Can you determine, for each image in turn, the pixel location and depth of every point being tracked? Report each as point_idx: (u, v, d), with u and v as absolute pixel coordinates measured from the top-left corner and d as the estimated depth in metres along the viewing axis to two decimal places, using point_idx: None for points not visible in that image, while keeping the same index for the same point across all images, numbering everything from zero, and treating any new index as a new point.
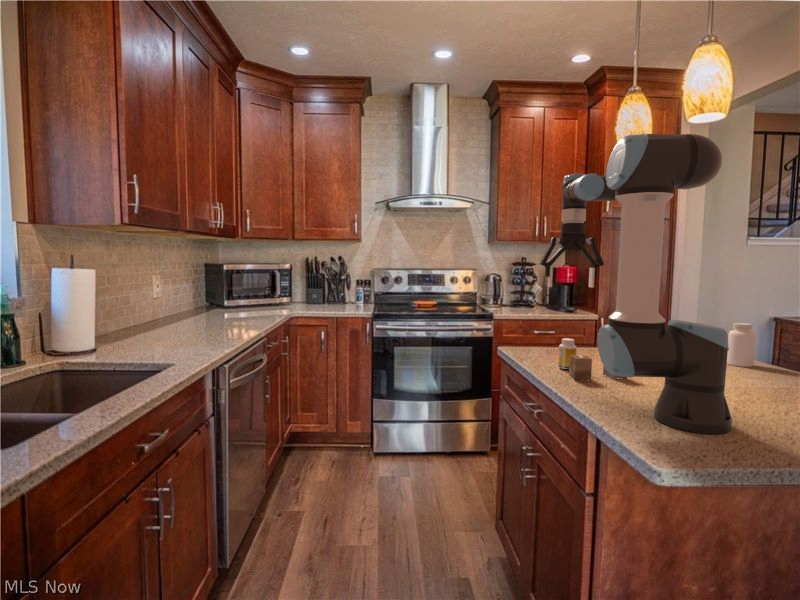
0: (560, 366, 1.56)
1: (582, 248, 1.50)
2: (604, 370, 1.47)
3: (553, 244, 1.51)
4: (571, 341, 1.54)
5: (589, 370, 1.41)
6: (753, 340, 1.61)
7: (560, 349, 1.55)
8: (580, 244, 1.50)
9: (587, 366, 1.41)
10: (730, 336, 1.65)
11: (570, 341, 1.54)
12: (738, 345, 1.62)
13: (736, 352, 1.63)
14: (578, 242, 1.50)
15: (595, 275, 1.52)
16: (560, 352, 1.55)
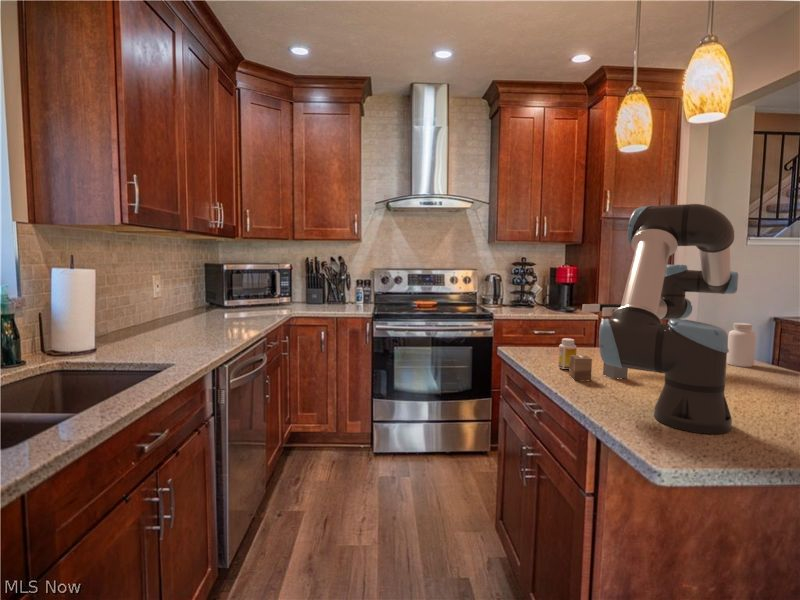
0: (560, 366, 1.56)
1: None
2: (604, 370, 1.47)
3: (617, 304, 1.66)
4: (571, 341, 1.54)
5: (589, 370, 1.41)
6: (753, 340, 1.61)
7: (560, 349, 1.55)
8: None
9: (587, 366, 1.41)
10: (730, 336, 1.65)
11: (570, 341, 1.54)
12: (738, 345, 1.62)
13: (736, 352, 1.63)
14: None
15: (615, 310, 1.51)
16: (560, 352, 1.55)
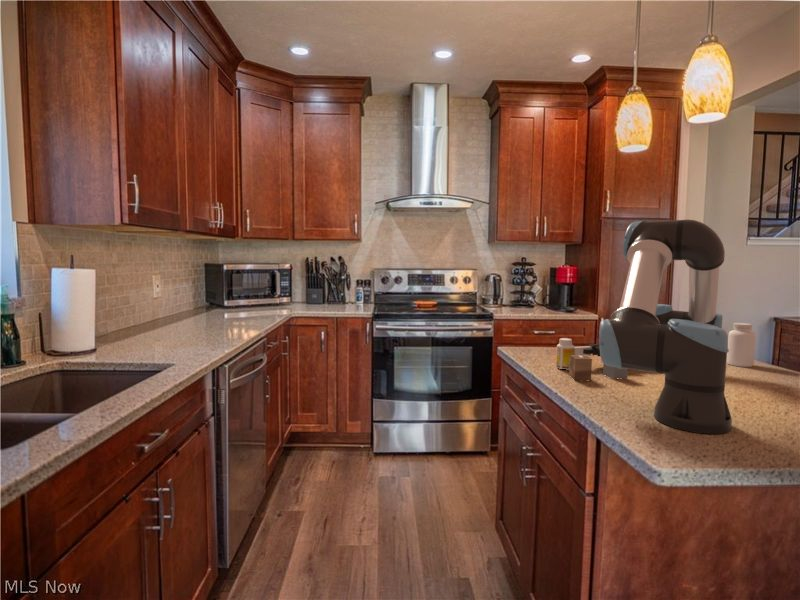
0: (558, 366, 1.56)
1: None
2: (604, 370, 1.47)
3: None
4: (568, 341, 1.54)
5: (589, 370, 1.41)
6: (753, 340, 1.61)
7: (558, 349, 1.55)
8: None
9: (587, 366, 1.41)
10: (730, 336, 1.65)
11: (567, 341, 1.54)
12: (738, 345, 1.62)
13: (736, 352, 1.63)
14: None
15: (586, 349, 1.56)
16: (558, 352, 1.55)
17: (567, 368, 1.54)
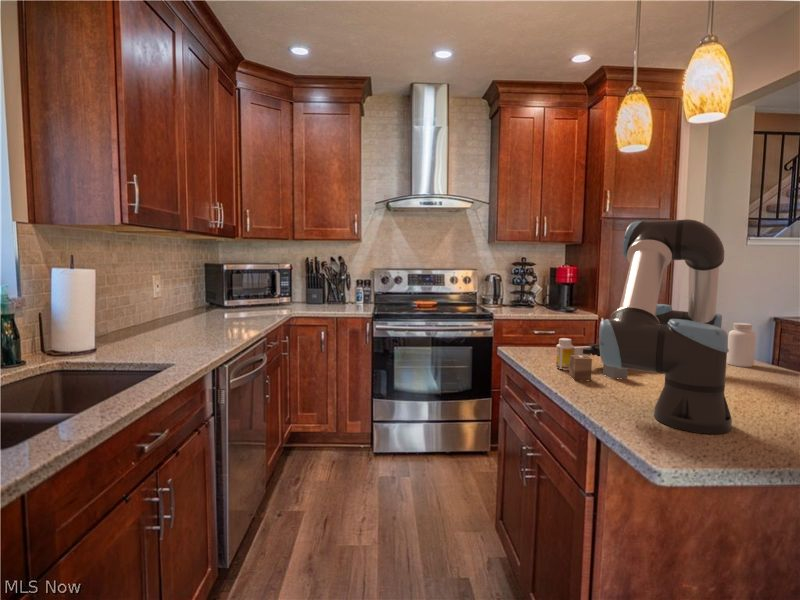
0: (557, 366, 1.56)
1: None
2: (604, 370, 1.47)
3: None
4: (568, 341, 1.54)
5: (589, 370, 1.41)
6: (753, 340, 1.61)
7: (557, 349, 1.55)
8: None
9: (587, 366, 1.41)
10: (730, 336, 1.65)
11: (567, 341, 1.54)
12: (738, 345, 1.62)
13: (736, 352, 1.63)
14: None
15: (585, 349, 1.56)
16: (557, 352, 1.55)
17: (567, 368, 1.54)
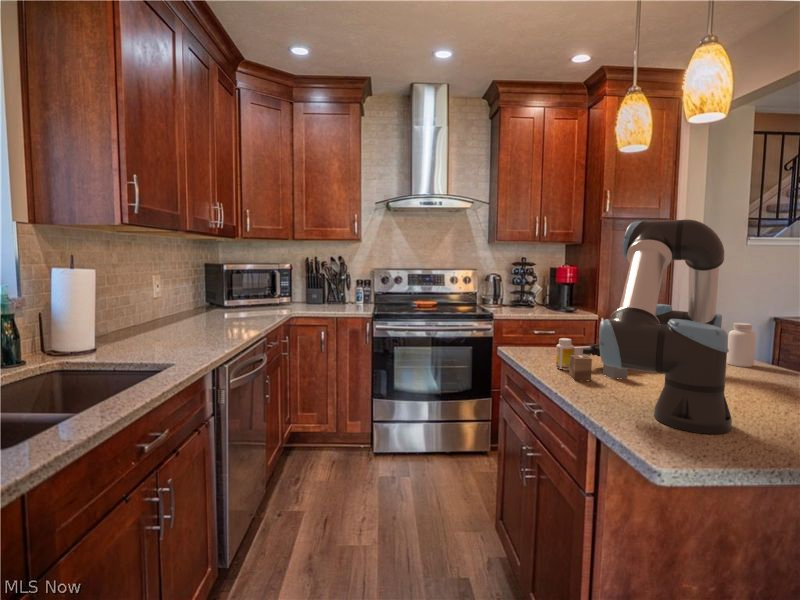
0: (557, 366, 1.56)
1: None
2: (604, 370, 1.47)
3: None
4: (568, 341, 1.54)
5: (589, 370, 1.41)
6: (753, 340, 1.61)
7: (557, 349, 1.55)
8: None
9: (587, 366, 1.41)
10: (730, 336, 1.65)
11: (567, 341, 1.54)
12: (738, 345, 1.62)
13: (736, 352, 1.63)
14: None
15: (585, 349, 1.56)
16: (557, 352, 1.55)
17: (567, 368, 1.54)
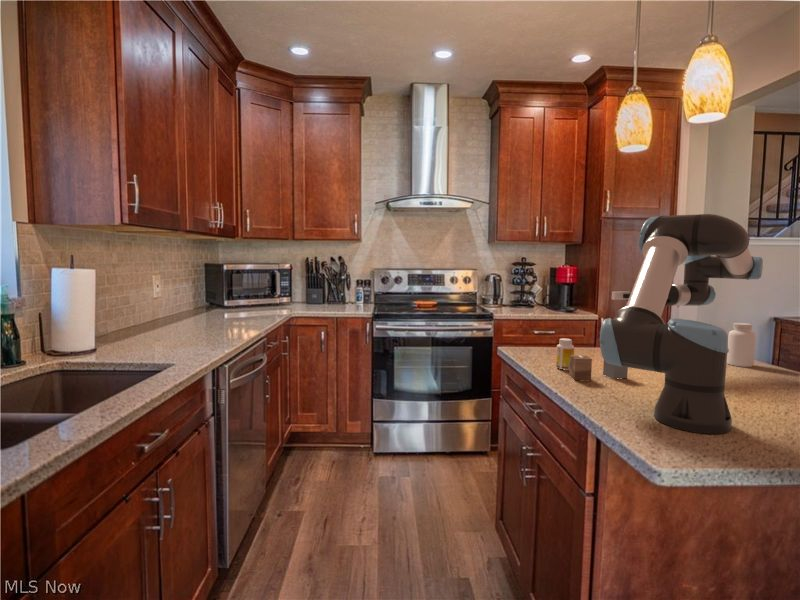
0: (557, 366, 1.56)
1: None
2: (604, 370, 1.47)
3: None
4: (568, 341, 1.54)
5: (589, 370, 1.41)
6: (753, 340, 1.61)
7: (557, 349, 1.55)
8: None
9: (587, 366, 1.41)
10: (730, 336, 1.65)
11: (567, 341, 1.54)
12: (738, 345, 1.62)
13: (736, 352, 1.63)
14: None
15: (626, 293, 1.57)
16: (557, 352, 1.55)
17: (567, 368, 1.54)
